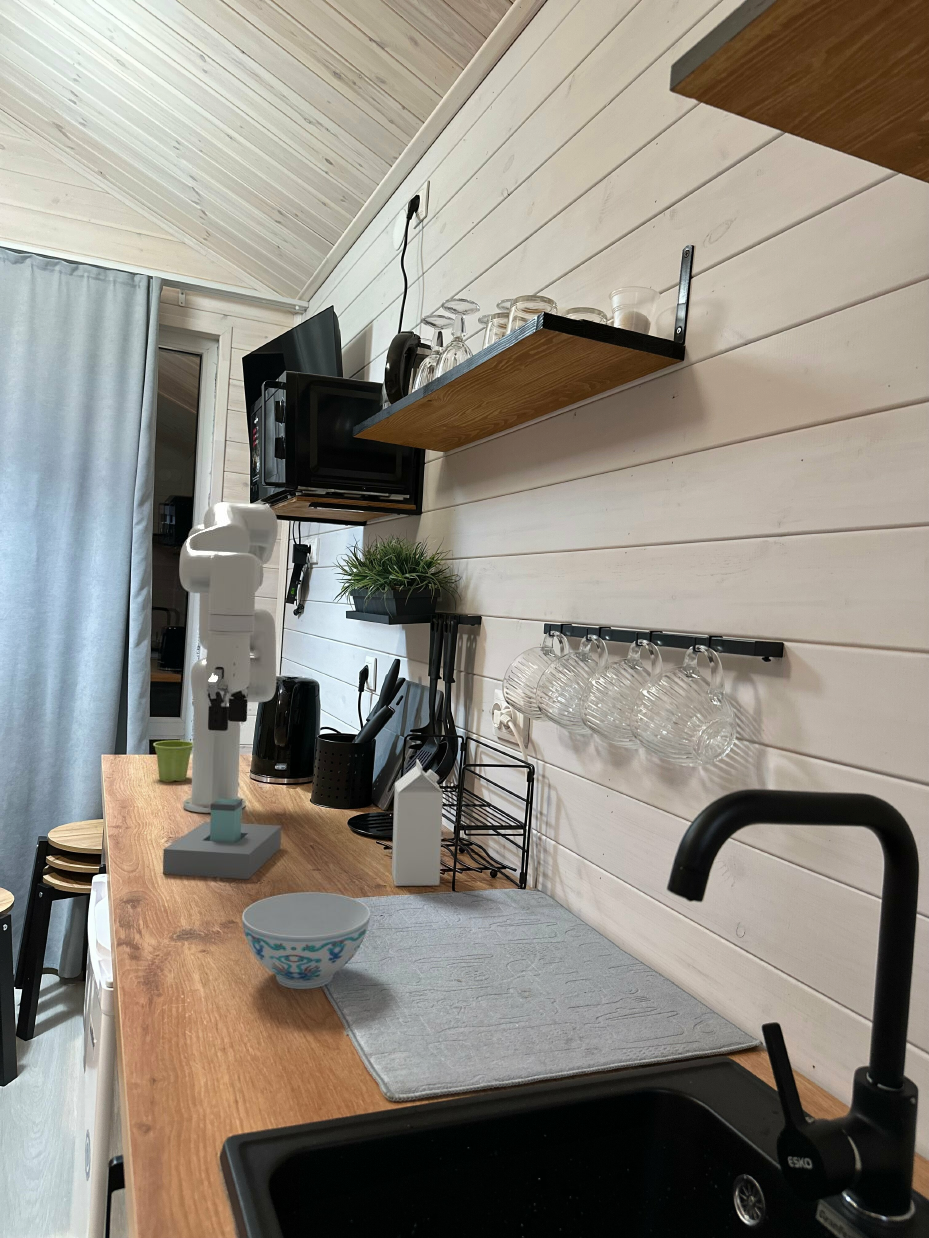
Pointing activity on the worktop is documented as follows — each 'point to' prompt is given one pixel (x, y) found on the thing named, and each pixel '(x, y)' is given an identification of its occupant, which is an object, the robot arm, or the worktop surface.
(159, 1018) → the worktop surface
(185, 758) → the plant pot
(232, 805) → the peg
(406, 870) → the milk carton
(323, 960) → the chinaware
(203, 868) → the socket block
